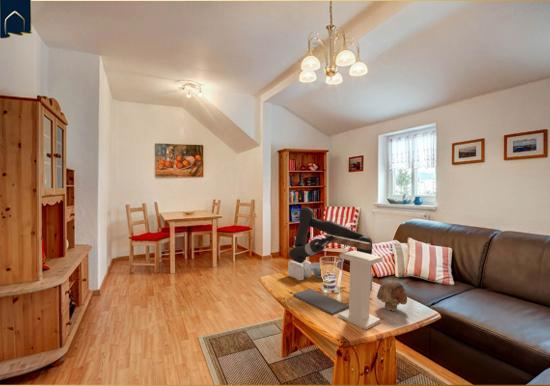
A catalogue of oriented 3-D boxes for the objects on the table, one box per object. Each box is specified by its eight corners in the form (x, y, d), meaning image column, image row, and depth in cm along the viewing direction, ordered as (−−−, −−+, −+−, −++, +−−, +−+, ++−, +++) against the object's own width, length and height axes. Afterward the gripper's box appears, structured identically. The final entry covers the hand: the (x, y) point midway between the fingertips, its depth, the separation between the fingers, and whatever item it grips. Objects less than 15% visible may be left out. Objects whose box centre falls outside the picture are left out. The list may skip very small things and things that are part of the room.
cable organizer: (312, 279, 196) (312, 262, 195) (301, 282, 190) (301, 265, 189) (298, 273, 208) (298, 257, 207) (287, 276, 202) (287, 260, 201)
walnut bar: (325, 240, 154) (325, 235, 153) (329, 239, 155) (329, 234, 155) (367, 250, 133) (367, 243, 133) (370, 249, 135) (370, 243, 135)
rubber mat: (293, 295, 167) (293, 294, 167) (309, 290, 176) (309, 288, 176) (332, 314, 143) (332, 312, 143) (349, 307, 152) (349, 305, 152)
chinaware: (305, 275, 202) (305, 265, 202) (317, 271, 213) (318, 261, 213) (322, 281, 192) (322, 270, 191) (334, 276, 202) (335, 265, 202)
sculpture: (399, 319, 140) (400, 289, 139) (370, 308, 152) (371, 280, 151) (413, 310, 149) (414, 282, 149) (385, 300, 161) (386, 275, 161)
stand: (338, 316, 142) (339, 253, 140) (352, 310, 149) (354, 250, 148) (366, 329, 129) (367, 261, 128) (380, 322, 137) (382, 257, 135)
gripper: (303, 242, 159) (323, 231, 147) (320, 239, 168) (340, 228, 156) (308, 255, 156) (329, 244, 144) (324, 251, 165) (346, 241, 153)
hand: (335, 236), depth 150 cm, fingers closed on walnut bar, 3 cm apart
